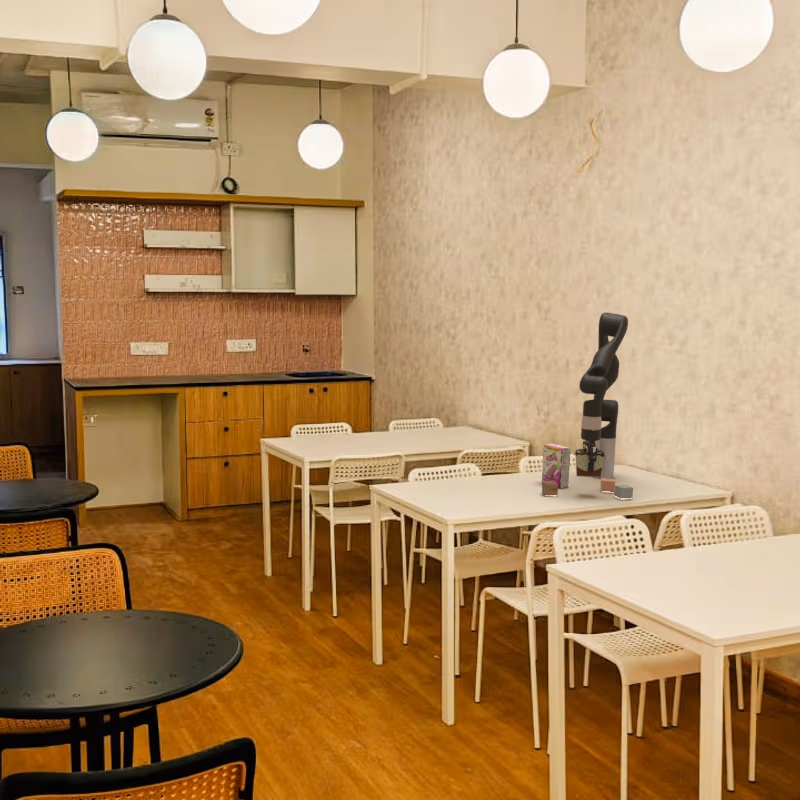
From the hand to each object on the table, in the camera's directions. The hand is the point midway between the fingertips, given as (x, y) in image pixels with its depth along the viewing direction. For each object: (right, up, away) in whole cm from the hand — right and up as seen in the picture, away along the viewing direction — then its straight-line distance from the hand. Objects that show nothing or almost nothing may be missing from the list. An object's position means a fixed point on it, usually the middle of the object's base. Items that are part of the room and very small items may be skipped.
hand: (588, 470), depth 392 cm
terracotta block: (+9, -9, +10) cm, 16 cm away
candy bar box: (-10, -8, +18) cm, 22 cm away
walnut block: (-15, -10, 0) cm, 18 cm away
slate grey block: (+13, -11, -2) cm, 17 cm away
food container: (0, -2, +1) cm, 2 cm away
